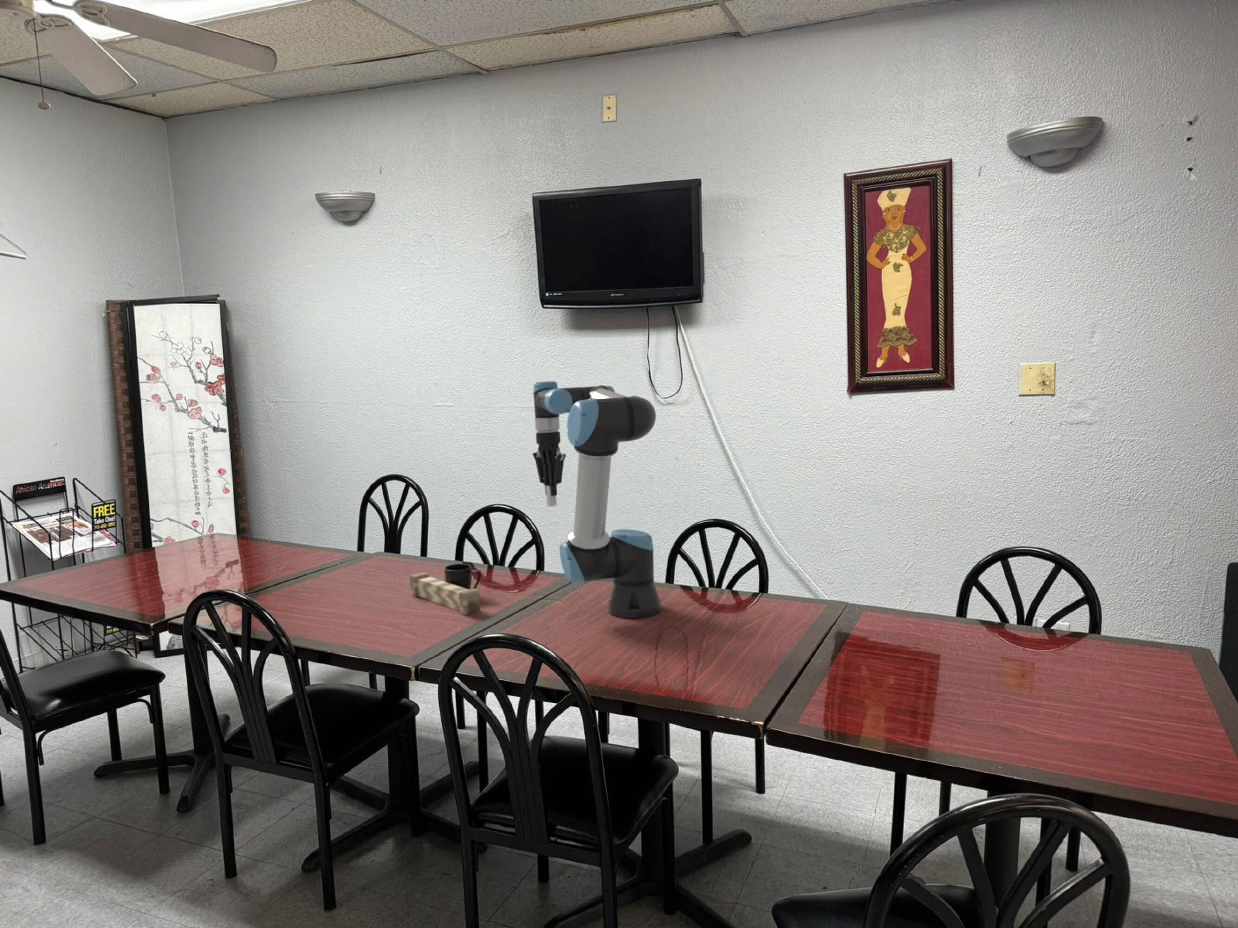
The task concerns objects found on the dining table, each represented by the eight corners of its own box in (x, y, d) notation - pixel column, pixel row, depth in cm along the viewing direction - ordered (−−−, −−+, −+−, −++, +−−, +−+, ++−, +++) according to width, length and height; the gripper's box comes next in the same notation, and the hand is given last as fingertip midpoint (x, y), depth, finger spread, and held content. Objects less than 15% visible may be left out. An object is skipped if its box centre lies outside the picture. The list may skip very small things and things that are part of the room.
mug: (474, 603, 267) (472, 572, 265) (440, 599, 271) (438, 569, 270) (488, 595, 274) (486, 565, 273) (455, 591, 279) (454, 562, 277)
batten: (480, 611, 259) (478, 589, 258) (465, 615, 255) (463, 593, 254) (425, 591, 280) (424, 572, 279) (411, 595, 277) (409, 575, 276)
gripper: (571, 430, 273) (574, 505, 276) (542, 429, 282) (546, 502, 285) (553, 432, 268) (557, 509, 271) (524, 431, 277) (529, 505, 280)
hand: (551, 505), depth 278 cm, fingers closed
